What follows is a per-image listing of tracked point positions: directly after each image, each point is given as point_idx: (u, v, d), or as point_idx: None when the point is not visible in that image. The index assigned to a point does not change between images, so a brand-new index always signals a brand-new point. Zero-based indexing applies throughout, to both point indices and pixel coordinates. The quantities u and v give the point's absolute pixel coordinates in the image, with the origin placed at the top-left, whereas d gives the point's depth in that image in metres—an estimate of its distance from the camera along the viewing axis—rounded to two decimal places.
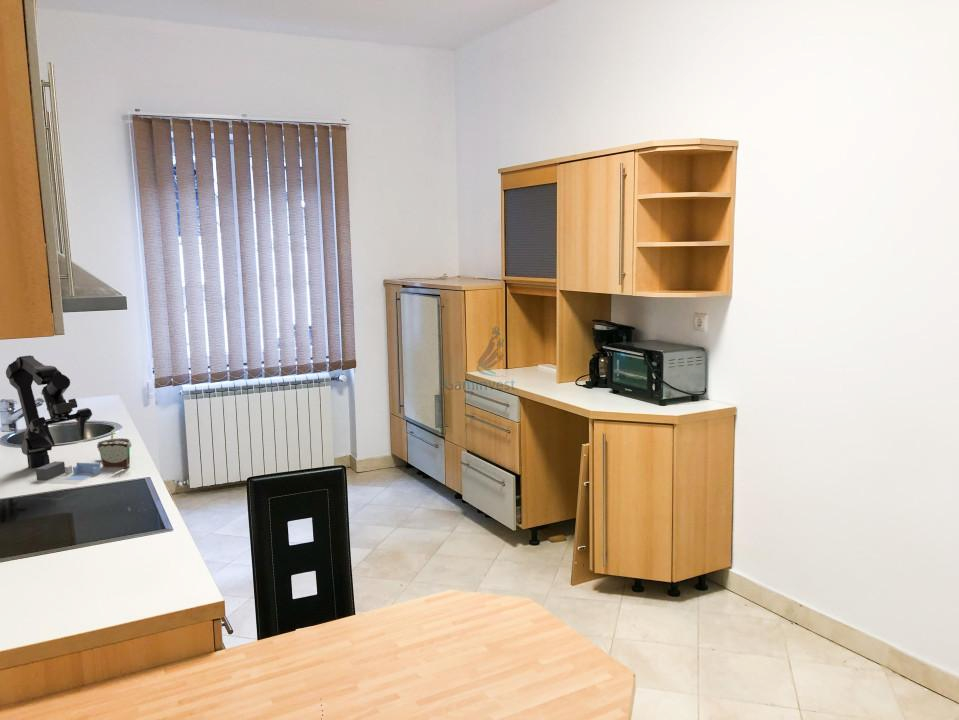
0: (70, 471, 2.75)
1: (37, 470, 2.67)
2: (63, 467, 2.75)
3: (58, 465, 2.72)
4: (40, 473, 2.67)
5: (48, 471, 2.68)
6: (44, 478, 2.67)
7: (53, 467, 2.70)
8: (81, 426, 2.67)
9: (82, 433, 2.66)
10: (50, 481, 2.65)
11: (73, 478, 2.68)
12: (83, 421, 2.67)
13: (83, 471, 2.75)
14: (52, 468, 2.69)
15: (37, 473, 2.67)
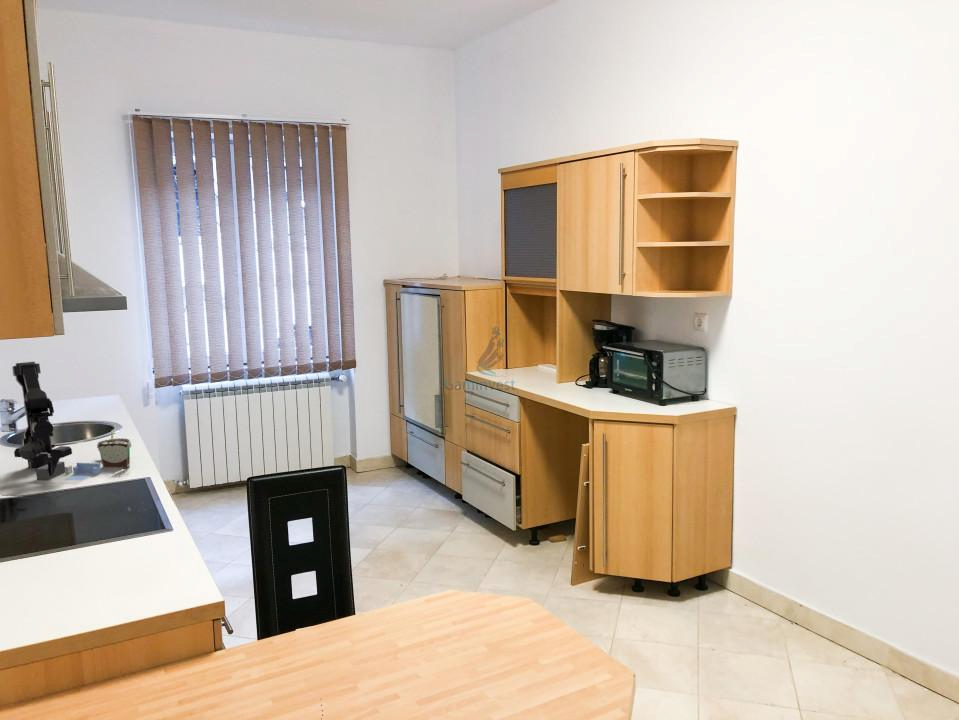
0: (70, 471, 2.75)
1: (37, 470, 2.67)
2: (63, 467, 2.75)
3: (58, 465, 2.72)
4: (40, 473, 2.67)
5: (48, 471, 2.68)
6: (44, 478, 2.67)
7: None
8: (48, 465, 2.67)
9: (49, 471, 2.68)
10: (50, 481, 2.65)
11: (73, 478, 2.68)
12: (49, 461, 2.66)
13: (83, 471, 2.75)
14: None
15: (37, 473, 2.67)
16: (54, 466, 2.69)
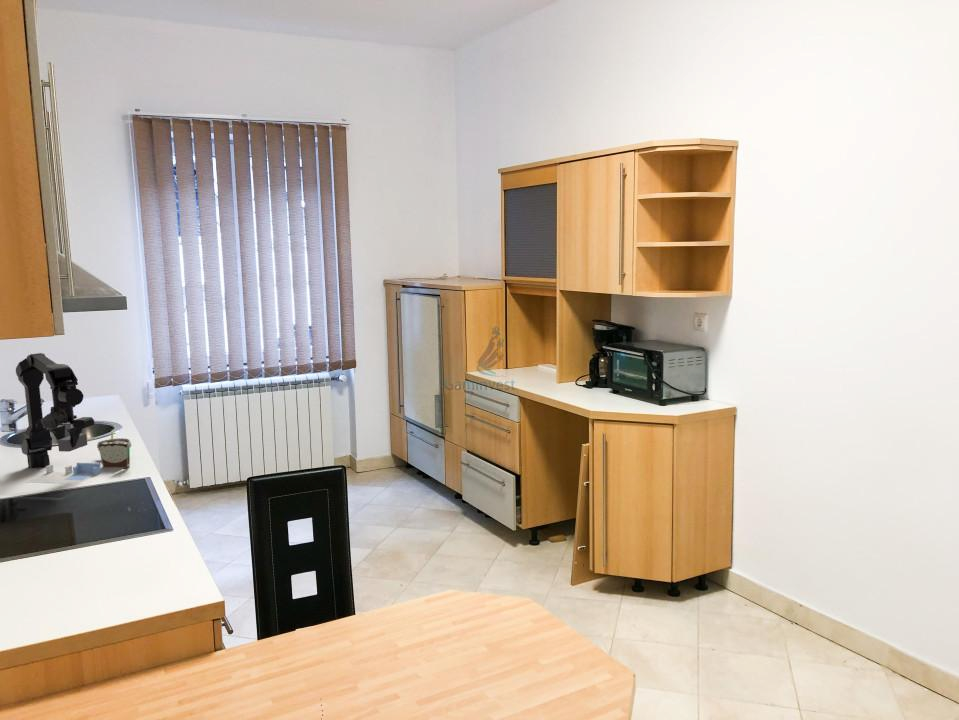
0: (70, 471, 2.75)
1: (59, 441, 2.63)
2: (85, 439, 2.71)
3: (80, 437, 2.68)
4: (62, 445, 2.63)
5: (70, 442, 2.64)
6: (66, 449, 2.63)
7: None
8: (70, 436, 2.63)
9: (71, 442, 2.64)
10: (50, 481, 2.65)
11: (73, 478, 2.68)
12: (71, 432, 2.62)
13: (83, 471, 2.75)
14: None
15: (59, 444, 2.63)
16: (76, 437, 2.65)
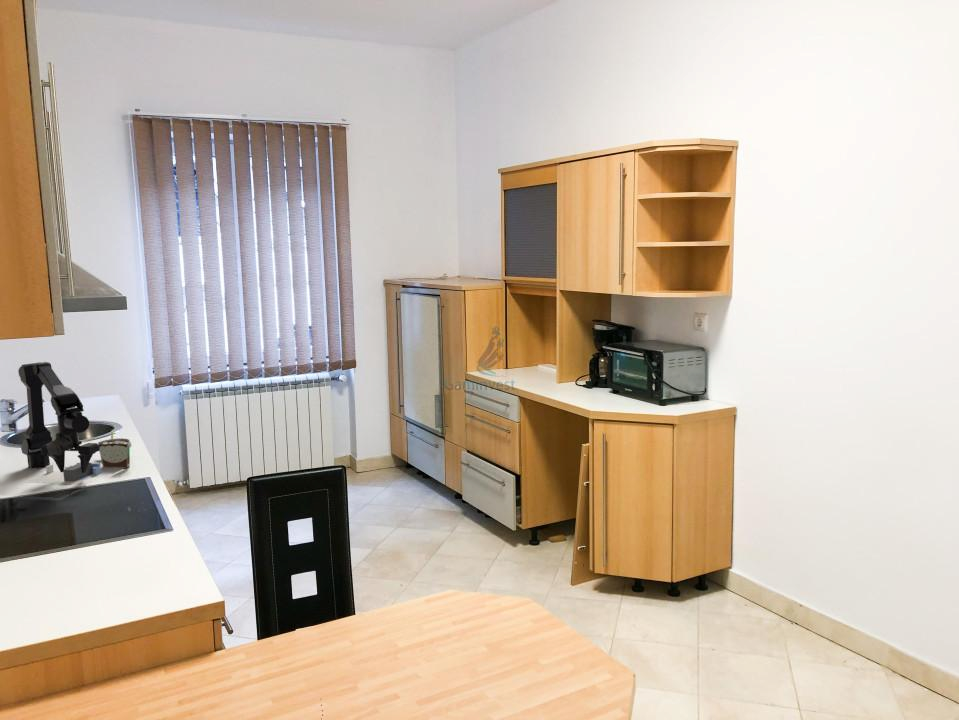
0: None
1: (64, 471, 2.65)
2: (90, 468, 2.72)
3: None
4: (68, 474, 2.65)
5: (76, 472, 2.65)
6: (72, 479, 2.65)
7: (80, 468, 2.68)
8: (81, 462, 2.64)
9: (82, 468, 2.65)
10: (50, 481, 2.65)
11: None
12: (82, 458, 2.63)
13: None
14: (79, 469, 2.67)
15: (64, 473, 2.65)
16: (87, 463, 2.66)
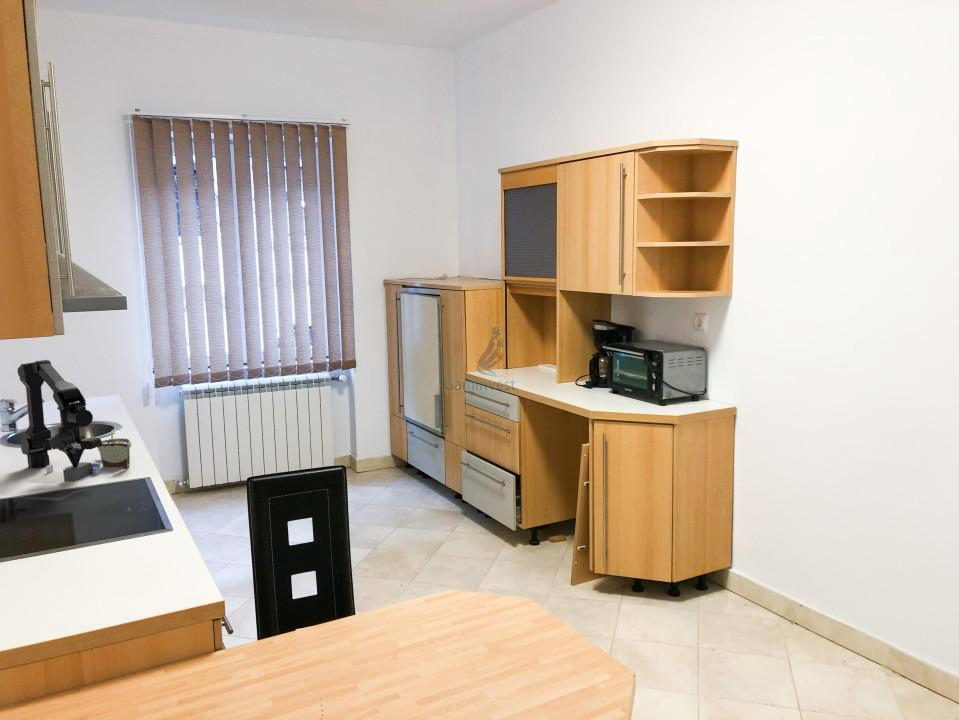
0: None
1: (64, 471, 2.65)
2: (90, 468, 2.72)
3: (85, 466, 2.70)
4: (68, 474, 2.65)
5: (76, 472, 2.65)
6: (72, 479, 2.65)
7: (80, 468, 2.68)
8: (73, 456, 2.66)
9: (74, 462, 2.67)
10: (50, 481, 2.65)
11: None
12: (74, 452, 2.65)
13: None
14: (79, 469, 2.67)
15: (64, 473, 2.65)
16: (79, 457, 2.68)
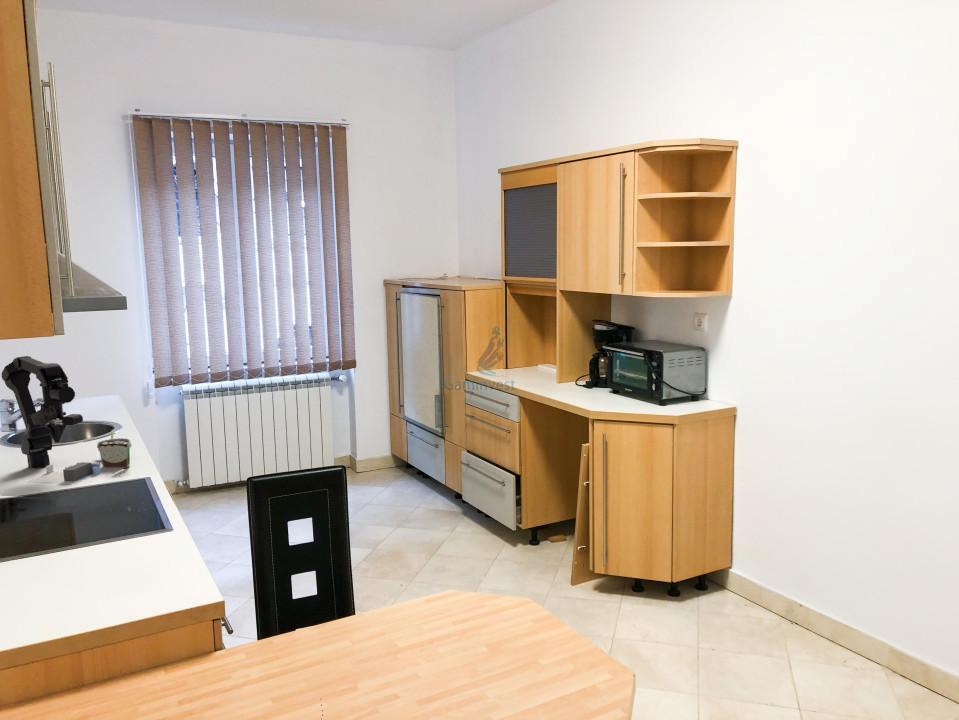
0: None
1: (64, 471, 2.65)
2: (90, 468, 2.72)
3: (85, 466, 2.70)
4: (68, 474, 2.65)
5: (76, 472, 2.65)
6: (72, 479, 2.65)
7: (80, 468, 2.68)
8: (55, 431, 2.73)
9: (55, 438, 2.73)
10: (50, 481, 2.65)
11: None
12: (55, 428, 2.72)
13: None
14: (79, 469, 2.67)
15: (64, 473, 2.65)
16: (60, 433, 2.75)
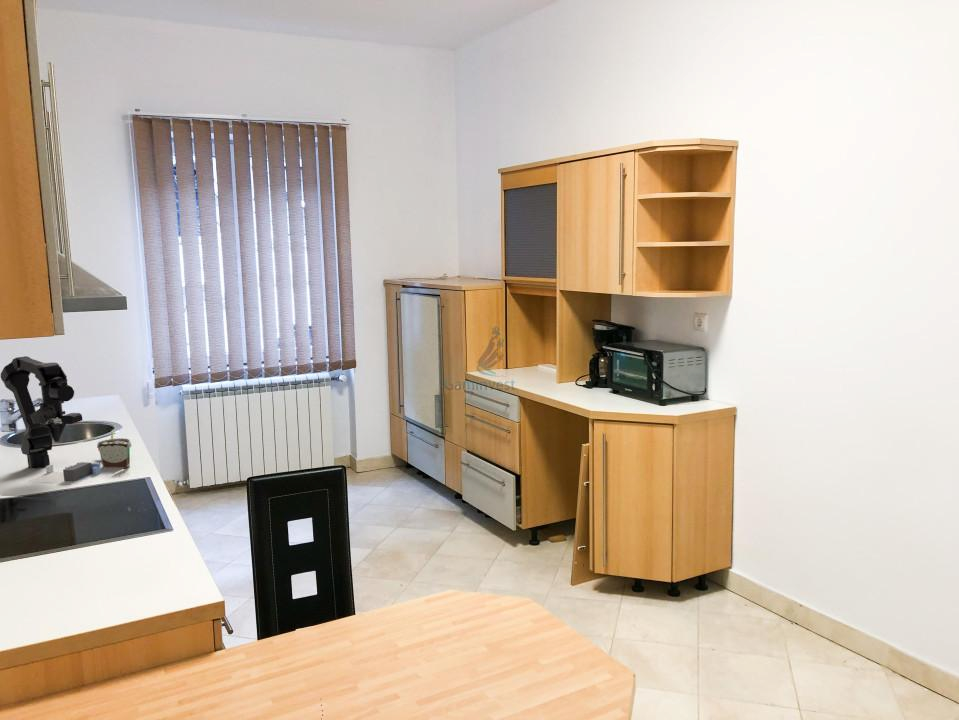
0: None
1: (64, 471, 2.65)
2: (90, 468, 2.72)
3: (85, 466, 2.70)
4: (68, 474, 2.65)
5: (76, 472, 2.65)
6: (72, 479, 2.65)
7: (80, 468, 2.68)
8: (54, 431, 2.73)
9: (55, 437, 2.74)
10: (50, 481, 2.65)
11: None
12: (55, 427, 2.72)
13: None
14: (79, 469, 2.67)
15: (64, 473, 2.65)
16: (60, 432, 2.75)
